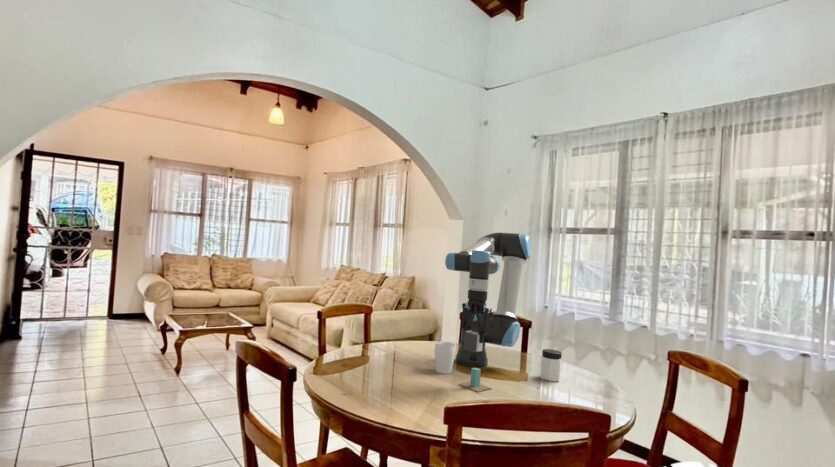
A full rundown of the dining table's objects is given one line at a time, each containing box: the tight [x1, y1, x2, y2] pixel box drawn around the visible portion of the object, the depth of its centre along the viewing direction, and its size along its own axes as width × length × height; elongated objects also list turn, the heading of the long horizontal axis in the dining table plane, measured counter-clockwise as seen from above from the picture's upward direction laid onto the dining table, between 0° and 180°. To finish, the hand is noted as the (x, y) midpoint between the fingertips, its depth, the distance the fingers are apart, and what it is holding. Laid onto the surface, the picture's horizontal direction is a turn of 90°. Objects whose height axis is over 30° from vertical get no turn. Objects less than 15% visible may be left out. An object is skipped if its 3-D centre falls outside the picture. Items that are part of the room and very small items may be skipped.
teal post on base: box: [458, 367, 492, 393], centre depth 174 cm, size 10×8×7 cm
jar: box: [539, 348, 562, 382], centre depth 196 cm, size 9×8×12 cm
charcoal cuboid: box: [463, 331, 483, 352], centre depth 174 cm, size 5×5×7 cm
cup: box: [434, 340, 457, 375], centre depth 193 cm, size 9×9×12 cm
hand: (473, 349), depth 174 cm, fingers closed on charcoal cuboid, 5 cm apart
